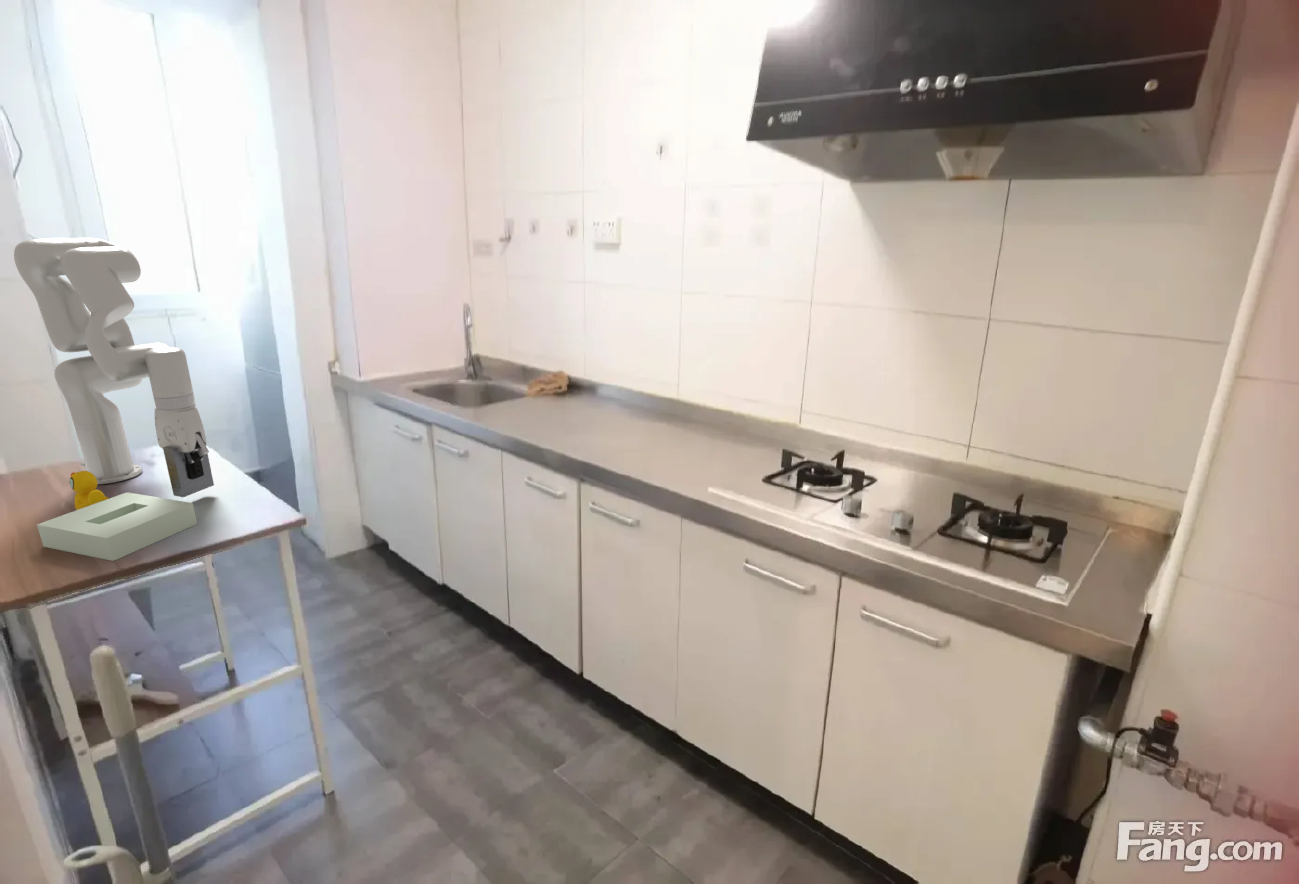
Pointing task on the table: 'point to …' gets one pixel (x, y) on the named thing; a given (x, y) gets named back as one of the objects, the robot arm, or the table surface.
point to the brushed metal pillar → (185, 473)
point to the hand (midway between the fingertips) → (191, 475)
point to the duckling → (85, 489)
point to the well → (117, 525)
